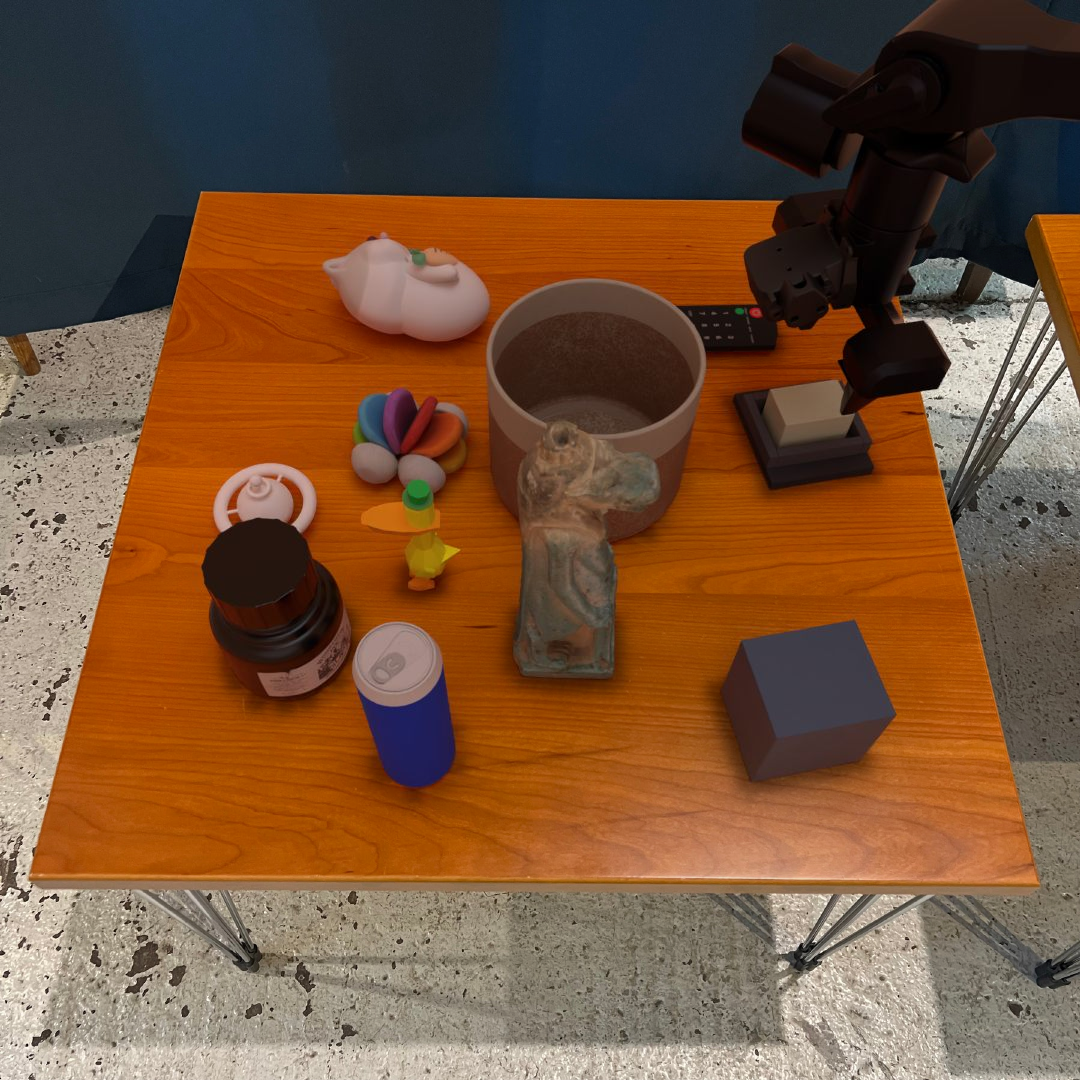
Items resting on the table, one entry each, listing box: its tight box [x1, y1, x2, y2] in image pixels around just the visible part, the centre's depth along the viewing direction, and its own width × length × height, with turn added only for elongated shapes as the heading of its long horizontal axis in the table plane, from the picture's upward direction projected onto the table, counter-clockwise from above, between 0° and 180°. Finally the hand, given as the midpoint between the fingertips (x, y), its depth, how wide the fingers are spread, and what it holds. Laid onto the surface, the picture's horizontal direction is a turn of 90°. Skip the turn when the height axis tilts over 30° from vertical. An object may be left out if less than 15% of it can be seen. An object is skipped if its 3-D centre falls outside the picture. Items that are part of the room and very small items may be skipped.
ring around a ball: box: [212, 462, 318, 535], centre depth 76 cm, size 8×6×8 cm
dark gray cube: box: [720, 619, 897, 783], centre depth 66 cm, size 8×7×8 cm
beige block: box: [762, 379, 855, 449], centre depth 81 cm, size 6×4×4 cm, turn 102°
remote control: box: [675, 303, 779, 353], centre depth 89 cm, size 5×24×1 cm, turn 92°
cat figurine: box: [321, 231, 491, 343], centre depth 87 cm, size 10×8×15 cm
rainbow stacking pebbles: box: [350, 387, 470, 494], centre depth 79 cm, size 8×10×7 cm
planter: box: [485, 277, 707, 543], centre depth 75 cm, size 16×16×14 cm
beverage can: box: [351, 621, 456, 788], centre depth 61 cm, size 5×5×15 cm
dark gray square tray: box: [732, 379, 875, 491], centre depth 83 cm, size 9×10×2 cm
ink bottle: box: [200, 517, 353, 701], centre depth 67 cm, size 10×9×12 cm
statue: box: [512, 420, 661, 680], centre depth 62 cm, size 7×8×25 cm
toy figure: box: [360, 479, 461, 592], centre depth 70 cm, size 7×4×12 cm, turn 91°
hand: (824, 369), depth 77 cm, fingers open, 9 cm apart
